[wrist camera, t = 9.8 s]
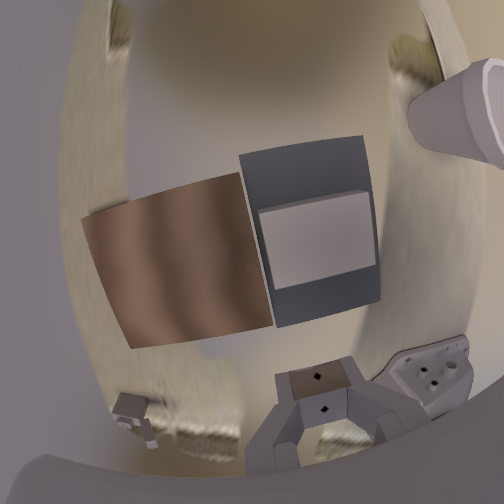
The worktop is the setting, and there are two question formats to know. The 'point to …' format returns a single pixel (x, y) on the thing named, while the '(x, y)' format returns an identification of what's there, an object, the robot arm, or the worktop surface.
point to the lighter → (134, 416)
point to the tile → (318, 237)
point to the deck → (180, 264)
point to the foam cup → (464, 114)
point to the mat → (306, 187)
